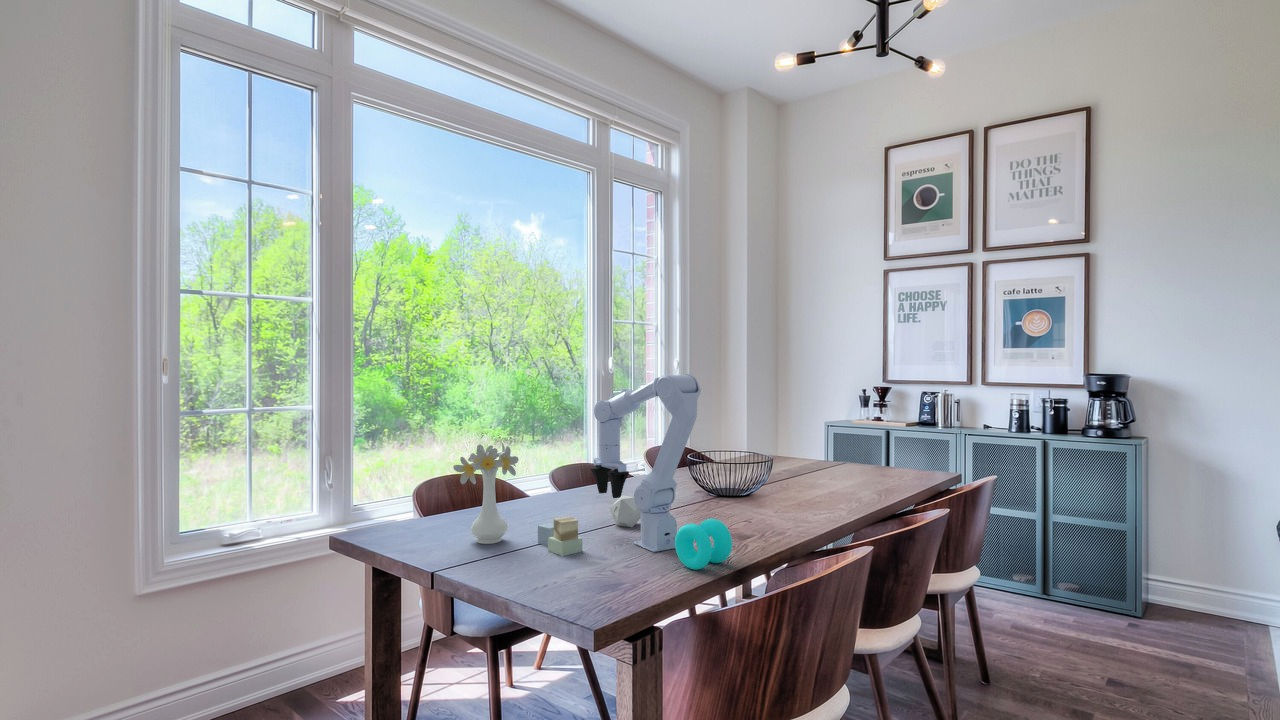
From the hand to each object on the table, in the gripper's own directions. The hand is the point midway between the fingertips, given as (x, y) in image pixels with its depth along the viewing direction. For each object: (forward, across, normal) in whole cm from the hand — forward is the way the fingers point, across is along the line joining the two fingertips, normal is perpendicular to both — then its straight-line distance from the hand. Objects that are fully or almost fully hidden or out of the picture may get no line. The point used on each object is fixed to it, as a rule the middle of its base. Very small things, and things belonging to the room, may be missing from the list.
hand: (609, 495), depth 179 cm
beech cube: (+7, +8, -17) cm, 20 cm away
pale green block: (+11, +8, -17) cm, 22 cm away
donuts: (+11, +36, +4) cm, 38 cm away
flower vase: (+11, -10, -30) cm, 33 cm away
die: (+11, -6, +9) cm, 15 cm away
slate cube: (+10, -1, -17) cm, 20 cm away
